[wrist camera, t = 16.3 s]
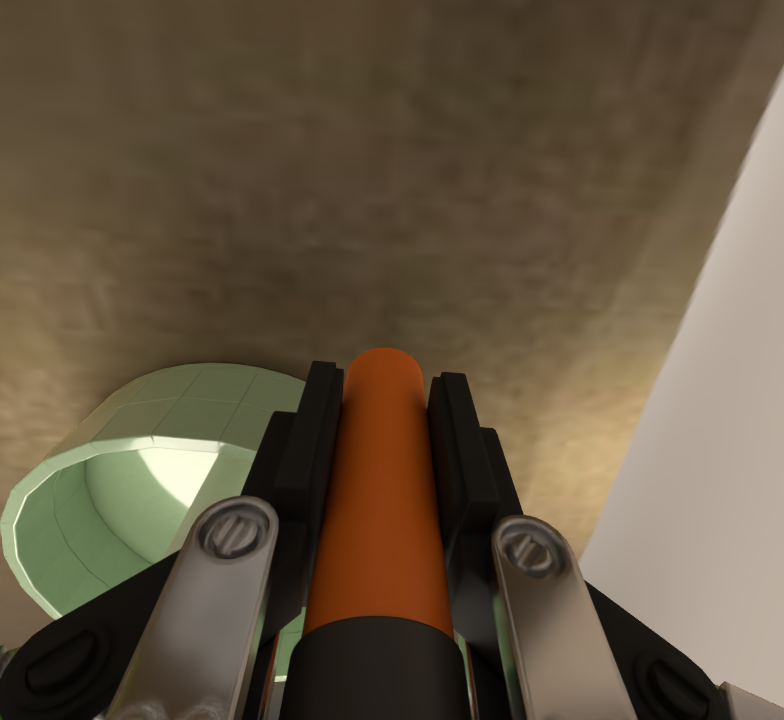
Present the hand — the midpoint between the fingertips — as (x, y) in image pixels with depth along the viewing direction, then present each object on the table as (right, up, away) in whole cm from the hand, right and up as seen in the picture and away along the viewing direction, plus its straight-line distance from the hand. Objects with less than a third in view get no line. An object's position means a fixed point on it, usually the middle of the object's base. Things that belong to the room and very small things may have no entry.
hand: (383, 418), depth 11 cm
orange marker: (0, +1, +2) cm, 2 cm away
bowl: (-8, -6, +12) cm, 16 cm away
